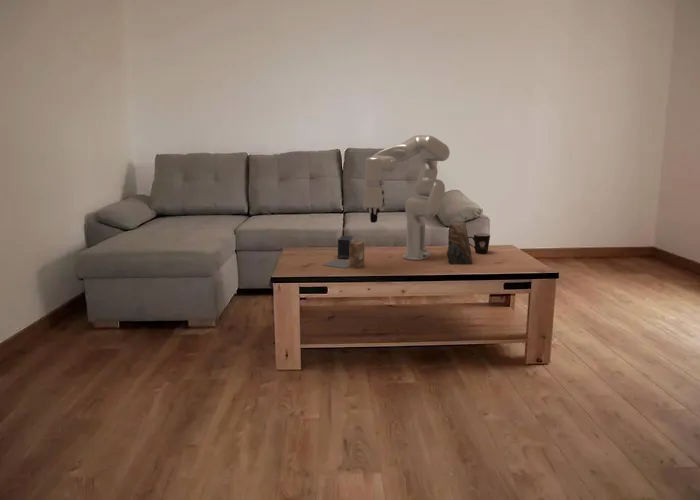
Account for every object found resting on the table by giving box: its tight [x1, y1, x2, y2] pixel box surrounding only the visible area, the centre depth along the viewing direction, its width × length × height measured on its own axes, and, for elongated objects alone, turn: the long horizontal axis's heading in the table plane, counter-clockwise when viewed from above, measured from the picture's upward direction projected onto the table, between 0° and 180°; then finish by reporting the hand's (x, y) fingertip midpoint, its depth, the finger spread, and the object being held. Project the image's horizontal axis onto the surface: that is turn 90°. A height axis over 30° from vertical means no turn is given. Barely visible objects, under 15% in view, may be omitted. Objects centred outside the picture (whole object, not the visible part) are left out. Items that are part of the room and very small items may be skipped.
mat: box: [322, 258, 351, 269], centre depth 294 cm, size 13×13×1 cm
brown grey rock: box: [446, 221, 473, 265], centre depth 295 cm, size 13×13×20 cm
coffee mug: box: [468, 232, 491, 255], centre depth 316 cm, size 12×9×10 cm
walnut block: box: [348, 240, 365, 269], centre depth 288 cm, size 5×6×12 cm
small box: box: [337, 235, 354, 260], centre depth 308 cm, size 11×6×10 cm, turn 168°
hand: (373, 222), depth 279 cm, fingers closed
